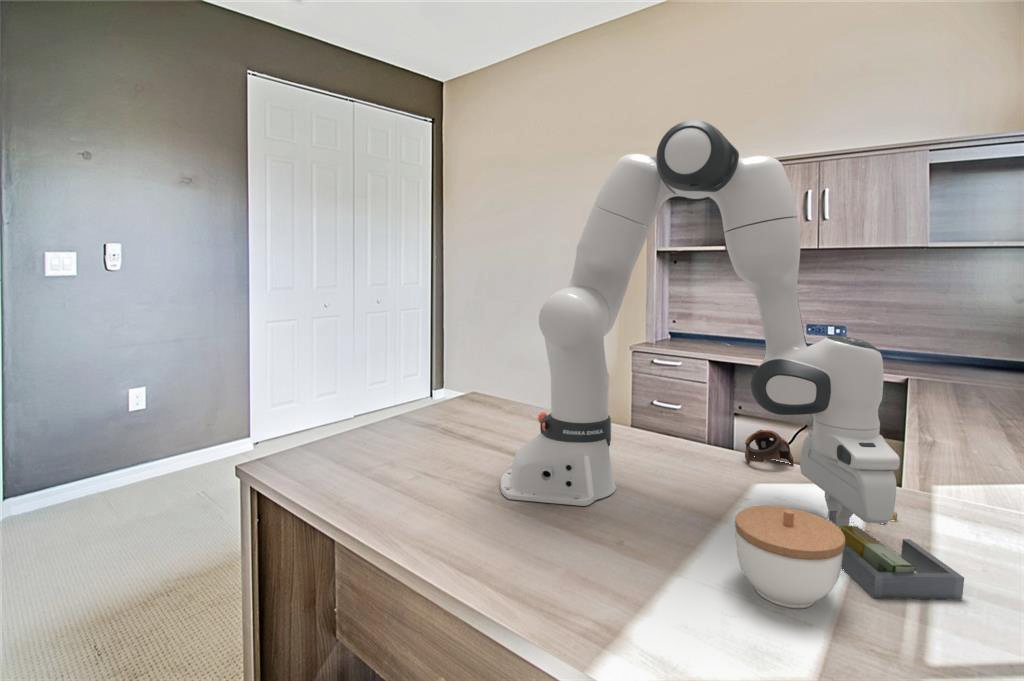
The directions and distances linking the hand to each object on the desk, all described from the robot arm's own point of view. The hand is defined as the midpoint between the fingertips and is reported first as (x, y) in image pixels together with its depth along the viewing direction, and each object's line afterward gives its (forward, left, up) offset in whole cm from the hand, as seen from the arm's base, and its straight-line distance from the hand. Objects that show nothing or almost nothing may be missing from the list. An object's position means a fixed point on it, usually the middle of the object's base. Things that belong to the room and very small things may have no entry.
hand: (837, 524), depth 87 cm
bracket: (0, -13, -2) cm, 13 cm away
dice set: (+10, +6, -2) cm, 12 cm away
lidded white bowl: (-16, -17, -2) cm, 23 cm away
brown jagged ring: (+3, +33, -2) cm, 33 cm away
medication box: (-1, -11, -2) cm, 11 cm away
